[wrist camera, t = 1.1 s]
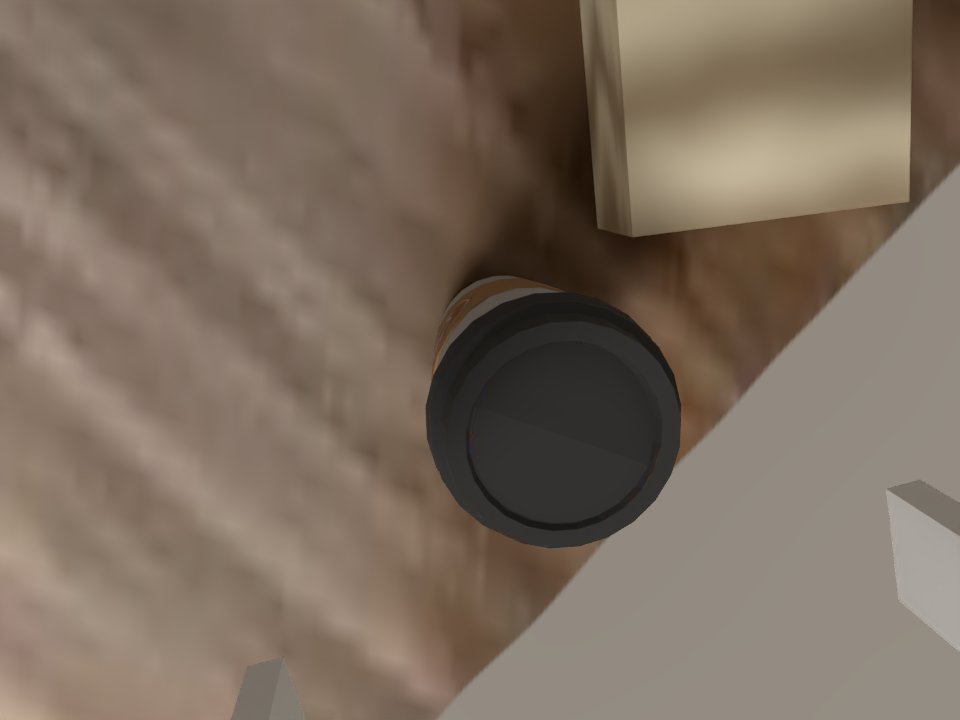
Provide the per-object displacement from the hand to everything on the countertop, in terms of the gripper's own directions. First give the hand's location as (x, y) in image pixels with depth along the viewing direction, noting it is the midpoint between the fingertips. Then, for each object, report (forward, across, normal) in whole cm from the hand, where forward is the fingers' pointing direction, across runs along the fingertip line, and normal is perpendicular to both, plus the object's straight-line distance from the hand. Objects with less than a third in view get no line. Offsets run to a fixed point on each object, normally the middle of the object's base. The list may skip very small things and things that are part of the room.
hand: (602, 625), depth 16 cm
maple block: (+23, +14, +10) cm, 29 cm away
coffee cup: (+23, +1, +1) cm, 23 cm away
